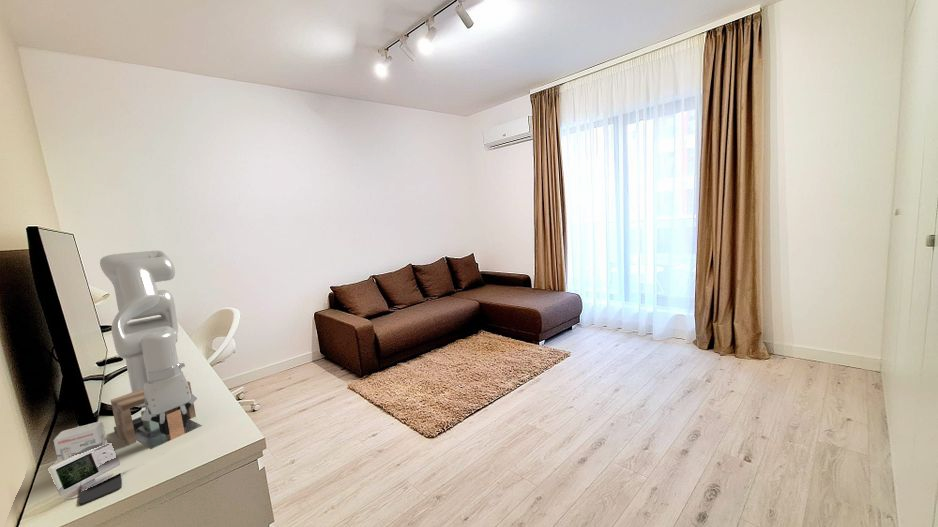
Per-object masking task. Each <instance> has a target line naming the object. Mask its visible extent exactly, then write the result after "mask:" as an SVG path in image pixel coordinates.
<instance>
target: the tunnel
mask: <svg viewBox="0 0 938 527" xmlns="http://www.w3.org/2000/svg"><path fill="white" fill-rule="evenodd" d="M187 383H188V386H189V390H190V393H191V394H193V392H192V387H191V382H190V381H188V380H187ZM144 403H145V402H144V389H141V390H138V391H135V392H132V391H131V392H130V393H126V394H123V395H120V396H118V397H114V398H113V399H110V404H111V409H112V414H113V417H114V418H113V419H114V424H115V427H116V429H117V437H118V438H119V439H121V440H122V441H124V442H125V443H126V444H128V445H130V446H132V445H133V444H134V445H135V444H136V443H137V440H136V437H135V432H136V431H135V430H134V427H133V422H132V420H133V418H132V413H131V409H133V407H136V406H138V405H141V404H144ZM196 416H197V415H196V409H195V402H194V403H193V404H191V406H190V407H189V409H188V410H187V413H186V418H187V419H192V418H193V419H194V418H196Z"/></svg>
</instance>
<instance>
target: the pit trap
mask: <svg viewBox="0 0 938 527" xmlns="http://www.w3.org/2000/svg"><path fill="white" fill-rule="evenodd" d="M141 417H142V416H141V415H140V416H138V417H136V418H134V419H133V418H132V422H133V427H134V431H135V430H138V428H139V427H140V426H143V421H142V420H141ZM113 431H114V433H115V434H117V429H116V426H113ZM117 435H118V434H117Z"/></svg>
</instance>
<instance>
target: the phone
mask: <svg viewBox="0 0 938 527" xmlns="http://www.w3.org/2000/svg"><path fill="white" fill-rule="evenodd" d="M121 474H122V473H121V472H120V473H118V474H115V475H113V476H112V477H110V478H108V479H105V480H103V481H101V482H99V483H97V484H95V485H91V486H92V487H90V488H88V489H87V490H84V491H82V492H80V491H79V497H78V498H79V499H78V500H79V501H78V503H79V506H85V505H87V504H88V505H89V503H92V502H94V501H96V500H100V499H101V498H104V497H106V496H108V495H111V494H113V493H116V492H118V491H120V490H121V489H122V487H123V486H122V484H123V483H122V475H121Z"/></svg>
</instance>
